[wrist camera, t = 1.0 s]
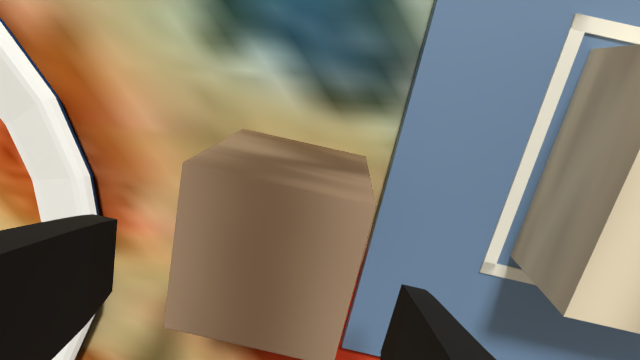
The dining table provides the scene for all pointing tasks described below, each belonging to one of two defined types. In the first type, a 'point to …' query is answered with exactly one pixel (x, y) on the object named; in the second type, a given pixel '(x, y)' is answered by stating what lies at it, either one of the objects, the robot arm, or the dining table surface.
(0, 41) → the white flat ring
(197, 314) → the walnut block
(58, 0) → the dining table surface
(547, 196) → the birch block
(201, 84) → the dining table surface
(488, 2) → the board
